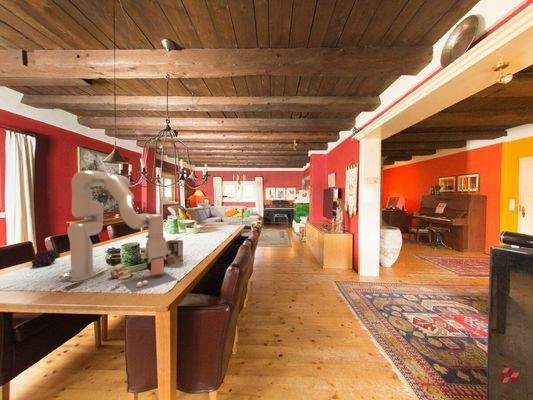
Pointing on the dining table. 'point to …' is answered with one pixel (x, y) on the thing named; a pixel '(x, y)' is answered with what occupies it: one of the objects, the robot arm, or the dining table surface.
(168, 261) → the coffee box
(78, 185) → the robot arm
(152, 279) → the mat
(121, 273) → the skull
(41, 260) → the fruit
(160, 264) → the cup
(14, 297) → the dining table surface
